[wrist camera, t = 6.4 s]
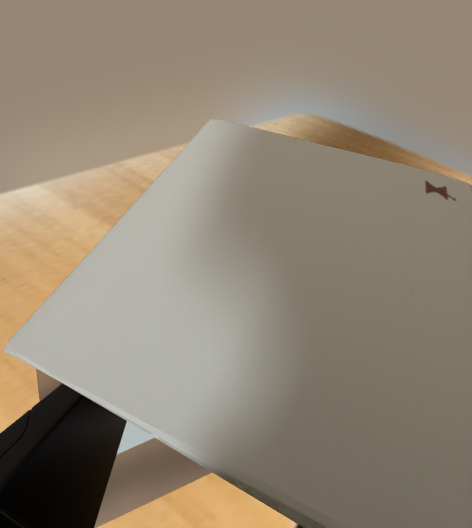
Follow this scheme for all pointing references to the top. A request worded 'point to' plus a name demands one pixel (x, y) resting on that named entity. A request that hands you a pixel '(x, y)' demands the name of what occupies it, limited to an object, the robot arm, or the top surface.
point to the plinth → (137, 467)
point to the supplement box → (285, 327)
